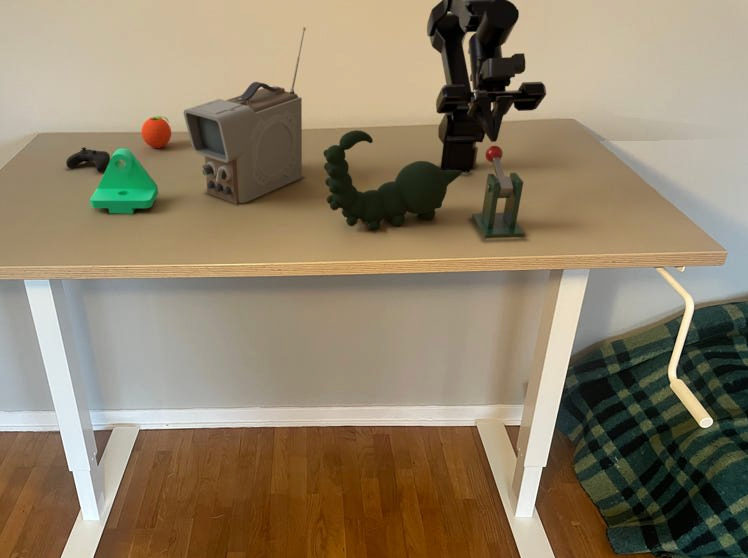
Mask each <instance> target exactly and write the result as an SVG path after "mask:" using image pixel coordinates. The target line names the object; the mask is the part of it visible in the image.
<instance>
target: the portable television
mask: <svg viewBox="0 0 748 558" xmlns="http://www.w3.org/2000/svg"><path fill="white" fill-rule="evenodd" d="M302 30H303V31H302V36H301V39H300V40H301V41H300V45H299V51H298V56H297V58H296V64H295V69H294V74H293V77H292V83H291V88H290V91H286V90H285V88H284V87H280V86H276V85H275V86H270V85H269V84H267V83H264V82H260V81H254V82H252V83H250V84H249V85H248V87H247V88H246V90H245V91H244V92H243V93H242V94H240V95H238V96H235V97H231V98H228V99H226V100H225V99H221V98H218V99H215V100H211V101H208V102H205V103H201V104H199V105H196V106H193V107H189V108H186V109H184V110H183V117H184V121H185V125H186V129H187V132H188V137H189V140H190V143H191V147H192V150H193V151H194V152H195V153H196V154H198V155H201V156H204V164H203V165H202V166H201V168H202V174H203V175H204V176H205V178H206V191H207V194H208V195H210V196H213V197H215V198H219V199H222V200H224V201H226V202H230V203H233V204H235V205H238V204H244V203H248V202H250V201H252V200H255V199H258V198H259V197H261V196H264V195H266V194H268V193H270V192H273V191H275V190H278V189H280V188H282V187H284V186H286V185H288V184H290V183H293V182H295V181H298V180H300V179H302V178H303V174H302V173H303V168H302V167H303V158H302V157H303V152H302V151H303V149H302V148H303V146H302V145H303V140H302V139H303V133H302V132H303V131H302V129H303V128H302V127H303V124H302V123H303V120H302V118H303V117H302V116H303V115H302V114H303V110H302V104H303V103H302V97H300V96H298V94H297V93H295V83H296V78H297V73H298V68H299V63H300V59H301V58H300V56H301V51H302V45H303V41H304V35H305V31H306V30H307V28H306V27H305V26H304V27H302Z"/></svg>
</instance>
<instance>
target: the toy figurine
mask: <svg viewBox="0 0 748 558" xmlns="http://www.w3.org/2000/svg"><path fill="white" fill-rule="evenodd" d="M373 141H374V140H373V138H372V136H371V135H370V134H368V133H367V132H366V131H363V130H355V129H354V130H351V131H347V132H346V133H345V134H343V135H342V136H341V138H340V139H339V144H332V145H330V146H329V147H328V148H327V149H324V151H323V153H322V154H323V157H324V158H325V160H326V162H325V163H324V165H323V169H324V170H325V171H326V174H327V175H328V177H327V178H325V180H324V183H325V186H327V187H328V192H330V194H329V195H327V197H326V202H327V203H328V204H329V207H330V210H332V211H338V210H339V209H341V214H342V216H343V218H346V220H345V222H346V224H347V225H348V227H354V226H356V225H357V224H358V220H359V221H362V223H364V224H365V223H366V224H368V227H369V229H370V230H372V231H376V230H378V229H379V228H380V227H381V222H383V221H384V220H385V219H386V220H389V221H390V222H391V224H392V225H393V226H394V227H401V226H402V225H404V224H405V220H406V217H405V215H406V214H407V213H409V214H413V215H417V217H418V219H419V220H421V221H424V222H430V221H432V220H434V218H435V217H436V210H437V209H440V208H442V206H443V202H444V200H445V197H446V194H447V191H448V190H447V189H448V186H449V185H450V184H451V183H453V182H454V181H455V180H456V179H457V178H459V177H460V176H461V175H462V174H463V172H462V171H461V170H441V169H440V168H439V167H440V166H438V165H437V164H435V163H433V162H429V161H426V160H418V161H413V162H411V163H409V164H407V165H405V166H404V167H403V168H402V169H401V170H400V171H399V172H398V173H397V175H396V177H395V179H394V181H393V180H392V181H387V182H385V183H382V184H381V185H380V186H379V187H378V188H377V189H368V190H366V191H364V192H363V191H359V190H357V188H356V186H355V185H353V178H352V175H351V174H350V173H349V169H350V167H349V163H348V161H347V160H346V152H345V151H348V150H350V149H352V148H353V147H354V146H355V145H356V144H358V143H361V142H367V143H368V144H372V143H373Z"/></svg>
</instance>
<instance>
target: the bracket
mask: <svg viewBox="0 0 748 558" xmlns="http://www.w3.org/2000/svg"><path fill="white" fill-rule="evenodd" d="M509 177H510V178H511V181H512V185H513V191H512V194H511V196H510V198H505V203H504V208H503V212H497V207H498V200H499V198H498V195H499V189H500V182H499V180H498V179H497V177H496V174H494V173H487V178H486V185H485V191H484V196H483V204H482V210H481V213H472V215H471V218H472V220H473V221H474V223H475V224H476V226H477V228H478V229H479V231H480V233H481V234H482V236H483V237H484V239H502V238H504V239H505V238H506V239H507V238H524V237H525V232H524V230H523V229H522V228H521V226H520V225H519V223H518V222H517V220H518V215H519V209H520V203H521V199H522V193H523V186H524V181H523V180H522V179H521V177H520V176H519V175H518V174H517V173H516V172H510V173H509Z"/></svg>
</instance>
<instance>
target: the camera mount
mask: <svg viewBox="0 0 748 558" xmlns="http://www.w3.org/2000/svg"><path fill="white" fill-rule="evenodd" d="M121 161H123V162H124V163H122V162H121ZM158 187H159V186H158V184H157V183H156V182H155V181H154V179H153V178H152V177H151V175H150V174H149V173H148V171H147V170H146V169H145V167H144V166H143V165H142V163H141V162H140V160H139V159H138V158H137V157H136V155H135V154H134V152H132V151H131V150H129V149H128V148H125V147H123V148H118V149H116V150H115V151H114V153H113V154H112V156H110V161H109V164H107V166H106V168H105V170H104V173H103V174H102V177H101V179H100V181H99V183H98V185H97V187H96V189H95V191H94V192H93V194H92V195H91V197H90V198H89V202H90V207H91V208H93V209H108V213H109V214H134V212H135V210H136V209H149V208H152V207H153V205H154V203H155V201H156V198H157V196H158V194H159V188H158Z"/></svg>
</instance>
